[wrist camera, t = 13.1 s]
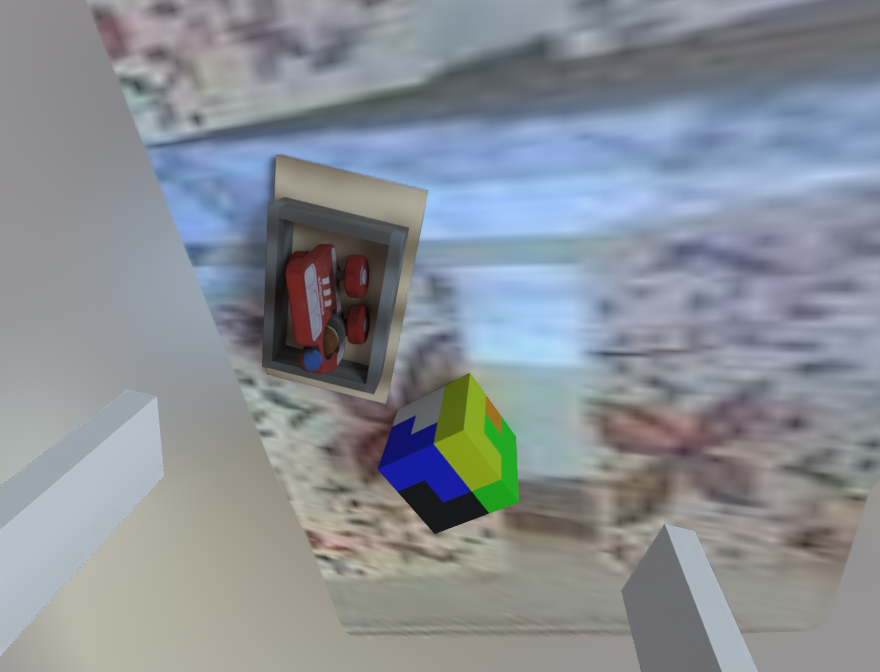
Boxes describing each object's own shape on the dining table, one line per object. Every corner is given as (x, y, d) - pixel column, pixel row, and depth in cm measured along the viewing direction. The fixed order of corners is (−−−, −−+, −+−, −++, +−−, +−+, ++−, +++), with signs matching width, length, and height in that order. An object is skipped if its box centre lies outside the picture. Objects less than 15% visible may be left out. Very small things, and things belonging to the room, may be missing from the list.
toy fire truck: (310, 343, 50) (266, 398, 41) (299, 230, 44) (245, 263, 35) (372, 349, 49) (343, 406, 40) (369, 235, 44) (334, 271, 35)
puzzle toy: (398, 409, 54) (377, 469, 45) (470, 372, 51) (463, 430, 42) (445, 467, 57) (434, 533, 48) (515, 436, 54) (518, 502, 45)
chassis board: (281, 154, 42) (258, 159, 38) (428, 190, 42) (421, 199, 38) (270, 369, 54) (252, 391, 50) (387, 398, 53) (378, 422, 49)
